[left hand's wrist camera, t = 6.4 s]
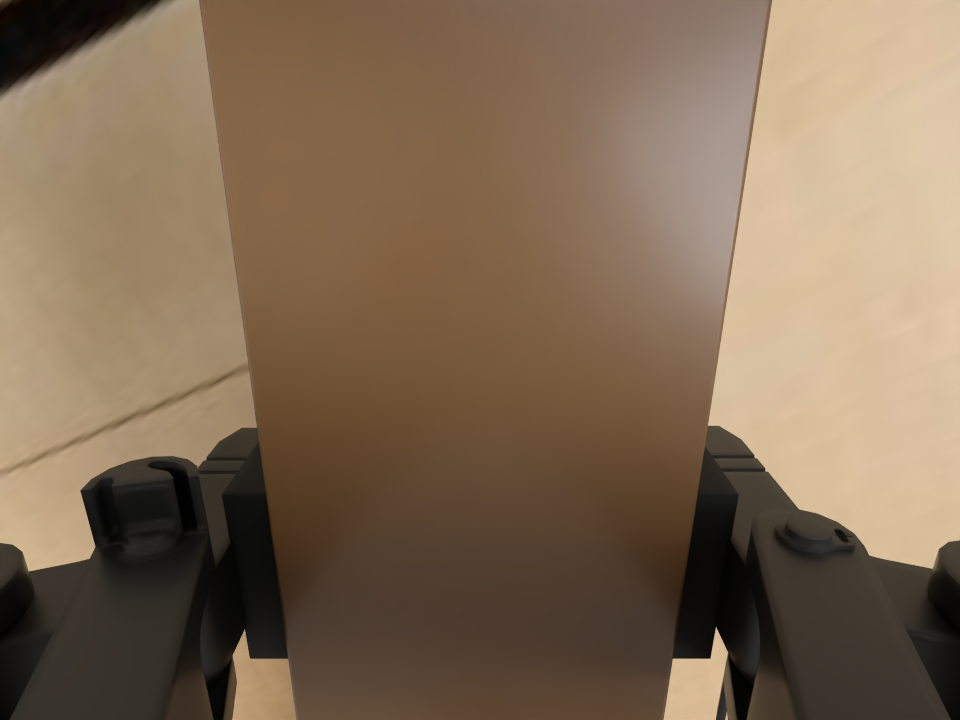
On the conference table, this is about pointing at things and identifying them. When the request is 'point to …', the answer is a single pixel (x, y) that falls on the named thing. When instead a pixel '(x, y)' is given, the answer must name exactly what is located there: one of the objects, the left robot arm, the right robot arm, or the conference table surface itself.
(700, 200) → the bar
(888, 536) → the conference table surface
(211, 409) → the conference table surface
